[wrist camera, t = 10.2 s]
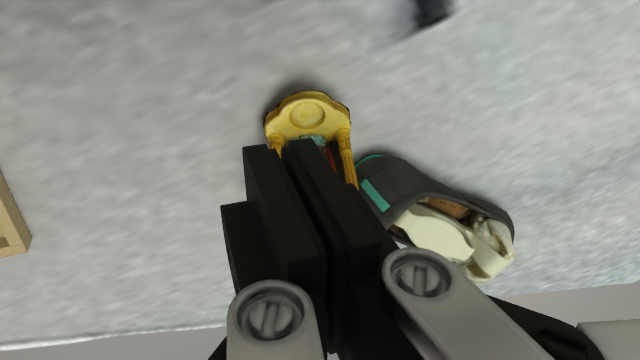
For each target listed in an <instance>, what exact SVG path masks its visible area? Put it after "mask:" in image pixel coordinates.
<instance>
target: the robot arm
mask: <svg viewBox="0 0 640 360" xmlns="http://www.w3.org/2000/svg"><path fill="white" fill-rule="evenodd" d="M242 152H243V164H244V174H245V185H246V196H247V201H243V202H237V203H232V204H226V205H220V209H221V217H222V224H223V231H224V238H225V244H226V250H227V255H228V260H229V265H230V270H231V275H232V279H233V284H234V288H235V293H236V296H235V297H234V299H233V301H232V302H231V304H230V306H229V310H228V315H227V336H226V337H225V339H224V340H223V341H222V342H221V344H220V345H219V346H218V347H217V349H216V350H215V351H214V353H213V354H212V355H211V356H210V358H209V359H208V360H327V352H329V354H334V353H337V355H338V357H339V359H340V360H640V319H633V320H616V321H599V322H582V323H578V325H577V327H576V328H575V327H574V326H572V325H569V324H567V323H565V322H563V321H561V320H558V319H555V318H552V317H549V316H546V315H544V314H541V313H538V312H535V311H532V310H529V309H526V308H523V307H520V306H518V305H515V304H512V303H509V302H506V301H503V300H500V299H497V298H495V297H492V296H489V295H486V294H484V293H483V292H482V291H481V290H480V289H479V288H478V287H477V286H476V285H475V284H474V283H473V282H472V281H471V280H470V279H468V278H467V277H466V276H465V275H464V274H463V273H462V272H461V271H460V270H459V269H458V268H457V267H456V266H455V265H454V264H453V263H451V262H450V261H449V260H448V259H446V258H445V257H444V256H442V255H441V254H439V253H436V252H434V251H432V250H429V249H424V248H420V247H406V248H402V249H400V248H399V247H398V245H397V244H396V243H395V241H394V240H393V238H392V237H391V236H390V234H389V233H388V231H387V230H386V229H385V227H384V226H383V224H382V223H381V222H380V220H379V219H378V217H377V216H376V215H375V213H374V212H373V210H372V209H371V207H370V206H369V205H368V203H367V202H366V200H365V199H364V198H363V196H362V195H361V193H360V192H359V191H358V189H357V188H356V187H355V186H354V184H352V183H346V184H343V183H342V182H341V180H340V179H339V177H338V176H337V174H336V173H335V171H334V170H333V168H332V167H331V165H330V164H329V162H328V161H327V159H326V158H325V156H324V155H323V153H322V152H321V150H320V149H319V148H318V146H317V145H316V143H315V142H314V140H313V139H312V138H303V139H296V140H289V141H288V147H282V148H281V158H280V156H279V154H278V152H277V150H276V149H275V148H274V149H268V147H267V145H266V144H260V145H253V146H246V147H243V148H242Z"/></svg>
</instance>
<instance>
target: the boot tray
mask: <svg viewBox="0 0 640 360" xmlns="http://www.w3.org/2000/svg"><path fill="white" fill-rule="evenodd" d="M31 240H32V237H31V235H30V233H29V230H28V228H27V226H26V224H25V222H24V220H23V218H22V216H21V214H20V212H19V210H18V207H17V205H16V203H15V201H14V199H13V197H12V195H11V193H10V191H9V189H8V187H7V185H6V182H5V180H4V178H3V176H2V174H1V172H0V257H5V256H11V255H16V254H21V253H27V252H28V249H29V246H30V243H31Z"/></svg>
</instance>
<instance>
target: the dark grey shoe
mask: <svg viewBox="0 0 640 360" xmlns="http://www.w3.org/2000/svg"><path fill="white" fill-rule="evenodd" d="M355 172H356V177H357V183H358V187H359V192H360V193H361V195H362V196H363V198H364V199H365V200H366V202H367V203H368V205H369V206H370V207H371V209H372V210H373V212H374V213H375V215H376V216H377V217H378V219H379V220H380V222H381V223H382V224H383V226H384V227H385V229H386V230H387V231H388V233H389V234H390V236H391V237H392V238H393V240H394V241H397V242H399V243H401V244H404V245H406V246H408V247H420V248H424V249H429V250H432V251H434V252H436V253H439V254H441V255H442V256H444V257H445V258H446V259H448V260H449V261H450V262H451V263H453V264H454V265H455V266H456V267H457V268H458V269H459V270H460V271H461V272H462V273H463V274H464V275H465V276H466V277H467V278H468V279H470V280H471V281H472V282H473V283H474V284H484V283H487V282H489V281H490V280H491V279H493V278H494V277H495V276H496V275H498V274H499V273H500V272H501V271H502V270H503V269H505V268H506V267H507V266H508V265H509V264H510V263H511V262H512V261H513V260H514V259H515V257H516V256H515V253H514V250H513V247H512V245H513V240H514V233H515V231H514V226H513V223H512V220H511V218H510V216H509V215H508V214H507V212H506V211H504V210H502V209H501V208H499V207H497V206H495V205H492V204H490V203H487V202H483V201H480V200H474V199H470V198H467V197H462V196H460V195H459V194H457V193H456V192H454V191H453V190H451V189H450V188H448V187H446V186H445V185H443V184H441V183H439V182H437V181H435V180H433V179H431V178H429V177H428V176H427V175H425V174H423V173H422V172H420V171H419V170H417V169H416V168H415V167H414V166H412V165H411V164H409V163H408V162H407V161H405V160H402V159H401V158H396V157H390V156H382V155H370V156H367V157H366V158H364V159H362V160H361V161H360V162H359V163H358V164H356V165H355Z"/></svg>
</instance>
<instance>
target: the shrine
mask: <svg viewBox="0 0 640 360" xmlns="http://www.w3.org/2000/svg"><path fill="white" fill-rule="evenodd" d="M263 120H264V122H263V127H264V129H265V136H266V137H267V138H268V139H267V140H268V142H269V143H270V149H274V148H275V149H276V150H277V152H278V154H279V156H280V158H281V148H282V147H288V142H287V141H289V140H296V139H303V138H312V139H313V140H314V142H315V143H316V145H317V146H318V148H319V149H320V150H321V152H322V153H323V155H324V156H325V158H326V159H327V161H328V162H329V164H330V165H331V167H332V168H333V170H334V171H335V173H336V174H337V176H338V177H339V179H340V180H341V182H342V183H343V184H346V183H352V184H354V186H355V187H356V188H357V189H358V191H359V187H358V183H357V177H356V172H355V167H354V163H353V158H352V157H353V154H352V150H351V144H350V127H351V121H350V113H349V109H348V108H347V107H345V106H344V105H343V104H341V103H339V102H336V101H334V100H333V99H332V98H331V97H330V96H329V95H328V94H327V93H324V92H322V91H316V90H309V91H307V90H306V91H301V92H296V93H293V94H292V95H291V96H289V97H286V98H284V99H282V101H281V102H280V103H279V104H278V105H277V107H276V108H275V109H274V110H272V111H270V112H266V113H265V116H264V118H263Z"/></svg>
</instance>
